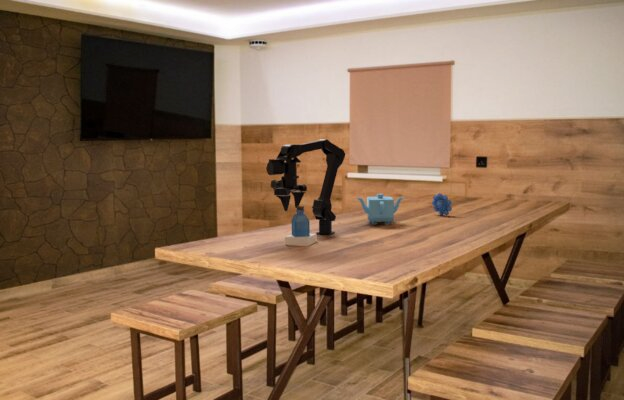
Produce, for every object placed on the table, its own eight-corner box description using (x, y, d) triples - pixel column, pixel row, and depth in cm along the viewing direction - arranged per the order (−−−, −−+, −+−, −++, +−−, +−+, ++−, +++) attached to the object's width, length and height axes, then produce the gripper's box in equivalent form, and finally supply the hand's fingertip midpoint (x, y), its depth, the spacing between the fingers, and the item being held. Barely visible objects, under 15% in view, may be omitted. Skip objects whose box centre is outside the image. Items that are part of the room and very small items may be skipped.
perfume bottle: (294, 237, 244) (294, 208, 243) (291, 234, 250) (291, 206, 249) (309, 236, 246) (309, 207, 244) (306, 233, 252) (305, 205, 250)
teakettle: (382, 227, 287) (383, 196, 285) (353, 223, 300) (353, 194, 298) (406, 222, 300) (407, 193, 298) (377, 219, 313) (377, 191, 311)
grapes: (428, 215, 324) (428, 193, 323) (433, 213, 329) (434, 192, 328) (448, 217, 317) (448, 194, 315) (453, 215, 322) (453, 193, 321)
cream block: (294, 241, 255) (294, 232, 255) (316, 243, 252) (316, 233, 251) (285, 246, 246) (284, 236, 246) (307, 247, 242) (307, 237, 242)
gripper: (285, 171, 269) (286, 205, 271) (262, 175, 252) (264, 211, 254) (306, 171, 263) (308, 206, 265) (285, 175, 247) (286, 213, 249)
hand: (291, 209), depth 259 cm, fingers open, 9 cm apart
